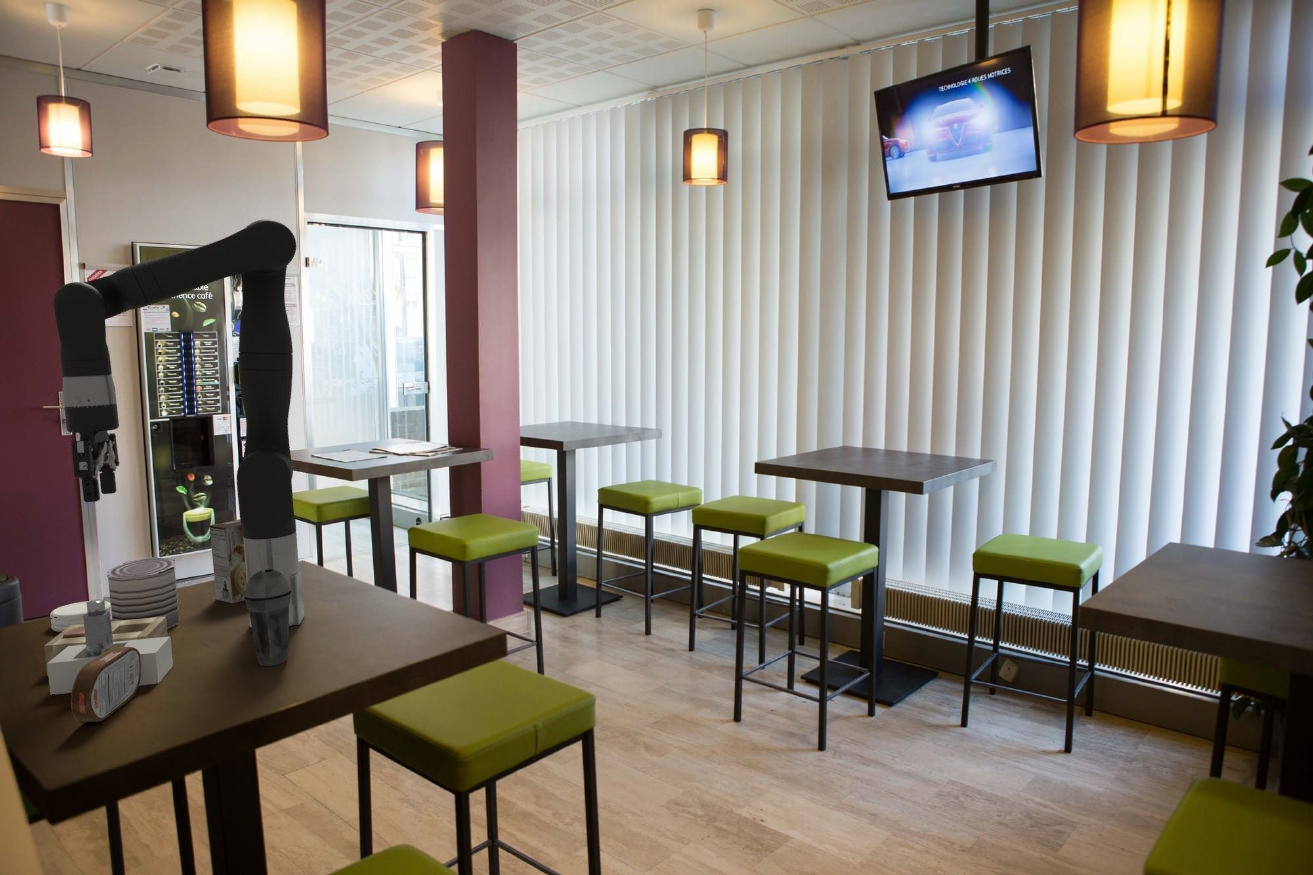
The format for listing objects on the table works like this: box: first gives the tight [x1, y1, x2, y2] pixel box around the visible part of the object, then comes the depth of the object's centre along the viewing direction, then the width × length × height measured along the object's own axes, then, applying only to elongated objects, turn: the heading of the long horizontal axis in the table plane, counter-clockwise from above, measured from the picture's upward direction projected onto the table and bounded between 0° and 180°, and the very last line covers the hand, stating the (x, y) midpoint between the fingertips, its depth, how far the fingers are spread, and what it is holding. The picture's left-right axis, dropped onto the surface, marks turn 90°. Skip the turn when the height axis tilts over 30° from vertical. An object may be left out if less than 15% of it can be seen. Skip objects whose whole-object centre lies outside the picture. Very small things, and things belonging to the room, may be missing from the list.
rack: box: [47, 636, 174, 696], centre depth 140 cm, size 15×8×5 cm, turn 104°
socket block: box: [43, 617, 169, 677], centre depth 150 cm, size 15×11×5 cm
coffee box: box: [209, 518, 247, 604], centre depth 186 cm, size 9×6×16 cm
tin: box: [70, 646, 141, 724], centre depth 128 cm, size 15×3×8 cm, turn 5°
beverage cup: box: [244, 545, 292, 667], centre depth 146 cm, size 7×7×20 cm
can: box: [106, 556, 180, 630], centre depth 167 cm, size 11×11×12 cm
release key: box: [63, 627, 85, 638], centre depth 149 cm, size 4×4×4 cm
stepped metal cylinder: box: [83, 598, 113, 657], centre depth 139 cm, size 4×4×13 cm
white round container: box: [49, 600, 112, 633], centre depth 170 cm, size 10×10×4 cm
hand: (101, 497), depth 150 cm, fingers open, 8 cm apart
